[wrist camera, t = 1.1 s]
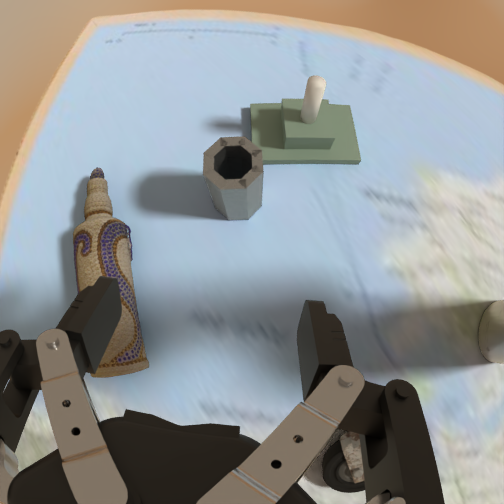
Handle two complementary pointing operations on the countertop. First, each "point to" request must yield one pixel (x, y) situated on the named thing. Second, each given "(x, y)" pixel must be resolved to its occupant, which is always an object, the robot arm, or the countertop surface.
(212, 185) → the hub
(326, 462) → the caster wheel
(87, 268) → the decorative bottle
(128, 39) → the countertop surface
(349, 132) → the green peg stand
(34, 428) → the countertop surface
